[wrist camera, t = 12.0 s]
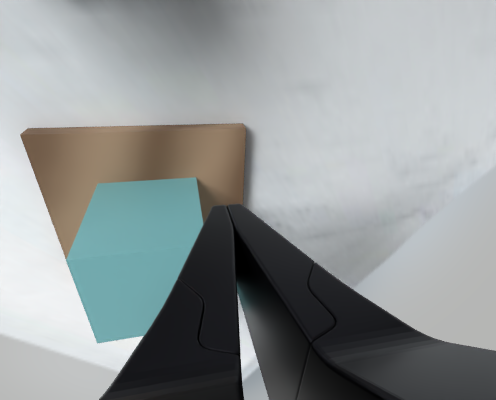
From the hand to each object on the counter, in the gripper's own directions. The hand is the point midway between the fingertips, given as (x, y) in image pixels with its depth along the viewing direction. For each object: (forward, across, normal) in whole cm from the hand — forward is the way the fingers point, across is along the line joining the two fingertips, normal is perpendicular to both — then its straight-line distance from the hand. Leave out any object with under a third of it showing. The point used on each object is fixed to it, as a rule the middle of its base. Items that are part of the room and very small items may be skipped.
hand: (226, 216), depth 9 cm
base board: (+11, +4, +7) cm, 13 cm away
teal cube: (+10, +4, +7) cm, 12 cm away
